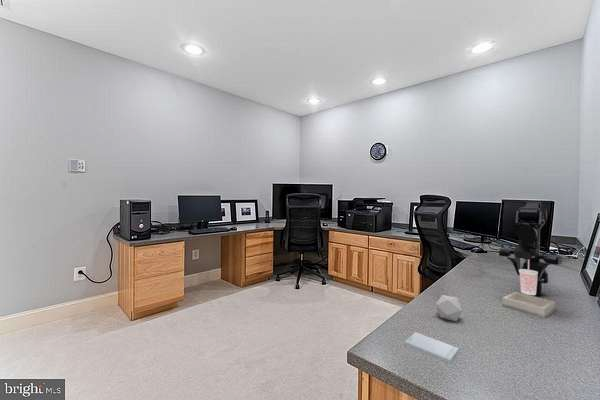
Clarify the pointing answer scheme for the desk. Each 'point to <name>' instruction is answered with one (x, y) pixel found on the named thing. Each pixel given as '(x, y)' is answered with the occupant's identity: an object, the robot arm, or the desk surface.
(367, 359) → the desk surface
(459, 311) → the die
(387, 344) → the desk surface
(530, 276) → the beverage cup
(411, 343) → the hard drive
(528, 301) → the tray
